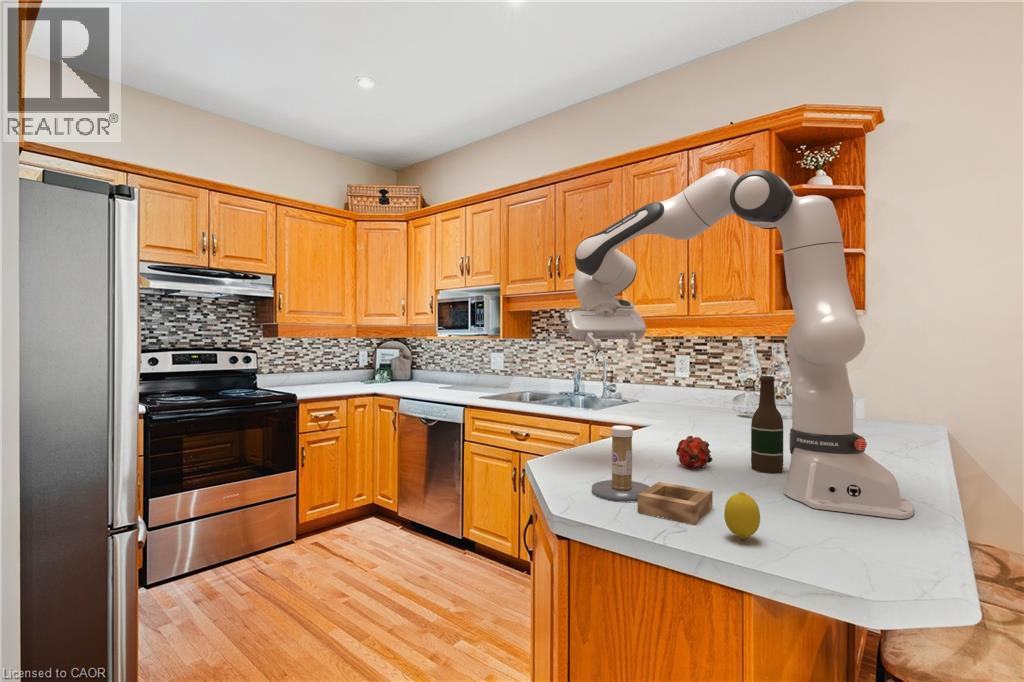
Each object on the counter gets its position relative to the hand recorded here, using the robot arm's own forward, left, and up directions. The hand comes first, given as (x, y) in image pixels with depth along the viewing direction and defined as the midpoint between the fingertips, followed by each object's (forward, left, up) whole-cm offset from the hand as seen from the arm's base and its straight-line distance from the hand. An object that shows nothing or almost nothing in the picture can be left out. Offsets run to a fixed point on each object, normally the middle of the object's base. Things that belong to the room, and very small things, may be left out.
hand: (615, 348), depth 129 cm
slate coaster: (-8, +14, -31) cm, 35 cm away
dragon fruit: (-14, -18, -32) cm, 39 cm away
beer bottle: (-30, -26, -32) cm, 51 cm away
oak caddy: (-22, +18, -31) cm, 42 cm away
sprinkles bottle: (-8, +13, -31) cm, 34 cm away
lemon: (-36, +26, -32) cm, 54 cm away
